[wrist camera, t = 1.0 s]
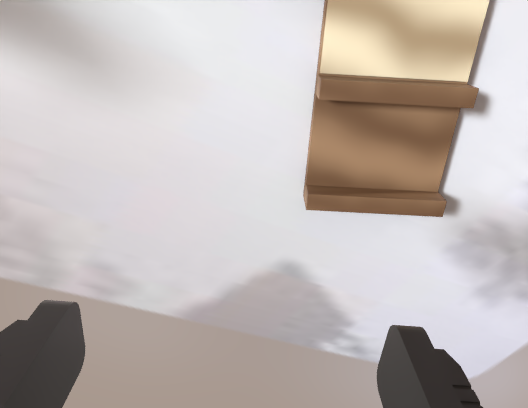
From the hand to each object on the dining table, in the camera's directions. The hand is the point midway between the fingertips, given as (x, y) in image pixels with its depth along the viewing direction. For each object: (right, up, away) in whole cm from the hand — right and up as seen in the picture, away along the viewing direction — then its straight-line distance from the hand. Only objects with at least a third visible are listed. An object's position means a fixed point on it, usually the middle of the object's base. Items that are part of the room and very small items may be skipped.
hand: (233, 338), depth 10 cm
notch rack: (+11, +17, +21) cm, 29 cm away
